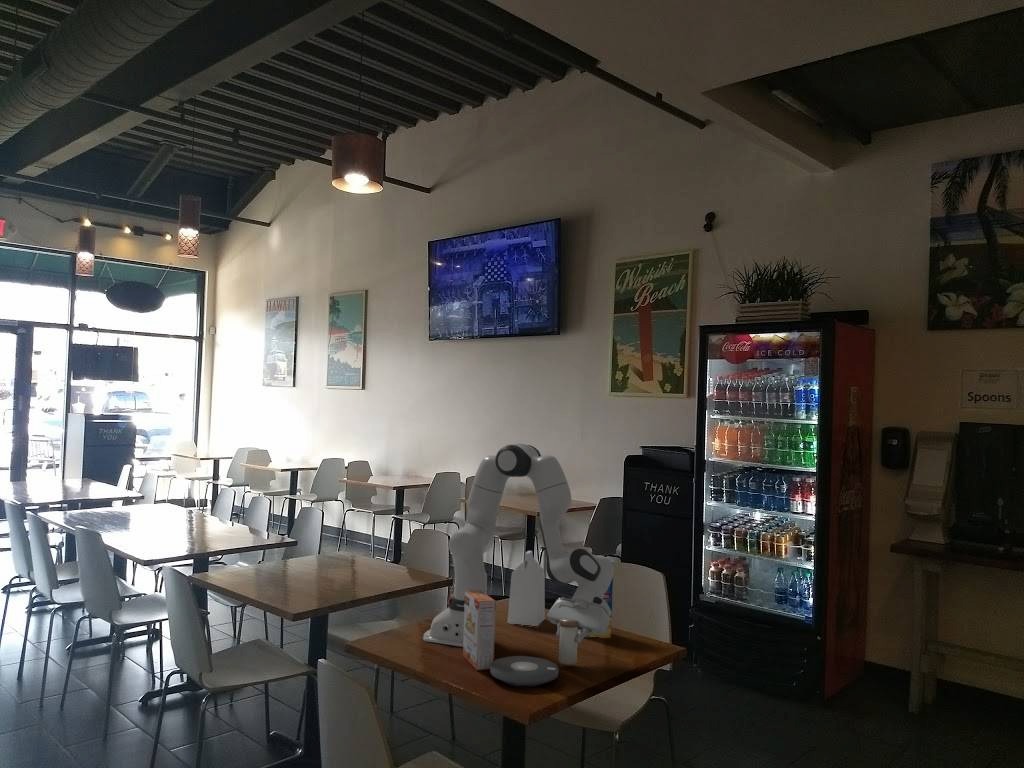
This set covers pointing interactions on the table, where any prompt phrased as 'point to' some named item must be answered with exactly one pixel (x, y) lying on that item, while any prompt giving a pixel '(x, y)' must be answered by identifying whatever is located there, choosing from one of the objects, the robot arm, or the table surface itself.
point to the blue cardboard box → (607, 634)
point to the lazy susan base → (522, 684)
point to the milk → (527, 593)
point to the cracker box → (479, 629)
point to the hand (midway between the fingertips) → (567, 639)
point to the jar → (568, 641)
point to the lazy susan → (524, 670)
